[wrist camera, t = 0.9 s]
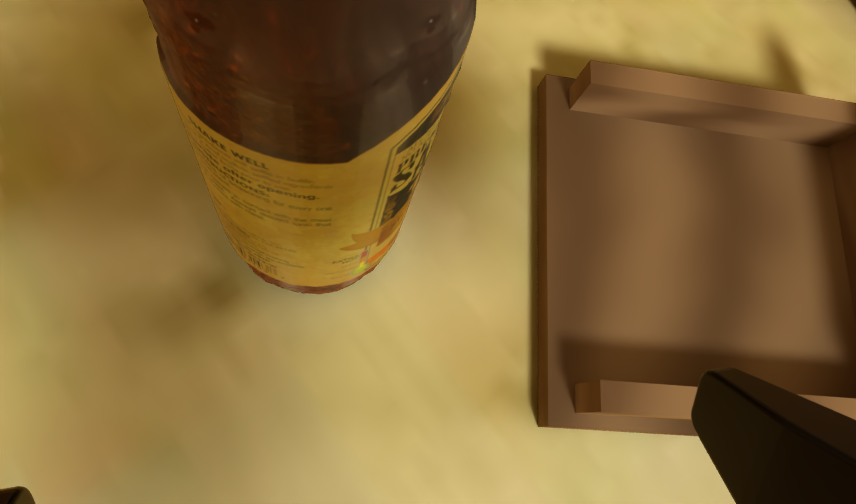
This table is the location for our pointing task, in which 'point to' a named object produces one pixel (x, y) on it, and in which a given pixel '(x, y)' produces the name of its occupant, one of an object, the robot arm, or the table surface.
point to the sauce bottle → (311, 121)
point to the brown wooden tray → (690, 245)
